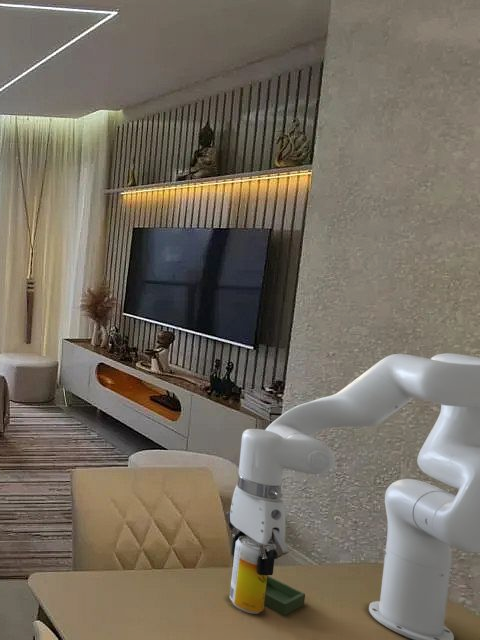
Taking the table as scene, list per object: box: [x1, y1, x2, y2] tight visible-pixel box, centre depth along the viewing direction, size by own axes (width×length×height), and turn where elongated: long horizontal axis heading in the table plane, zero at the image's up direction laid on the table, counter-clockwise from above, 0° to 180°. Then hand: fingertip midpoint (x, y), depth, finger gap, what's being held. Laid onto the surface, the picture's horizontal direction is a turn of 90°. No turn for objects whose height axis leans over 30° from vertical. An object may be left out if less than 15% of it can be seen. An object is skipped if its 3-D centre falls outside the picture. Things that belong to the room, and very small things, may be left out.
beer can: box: [229, 535, 270, 615], centre depth 119 cm, size 6×6×15 cm
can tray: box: [264, 575, 306, 616], centre depth 123 cm, size 9×9×3 cm
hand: (251, 564), depth 119 cm, fingers closed on beer can, 6 cm apart
